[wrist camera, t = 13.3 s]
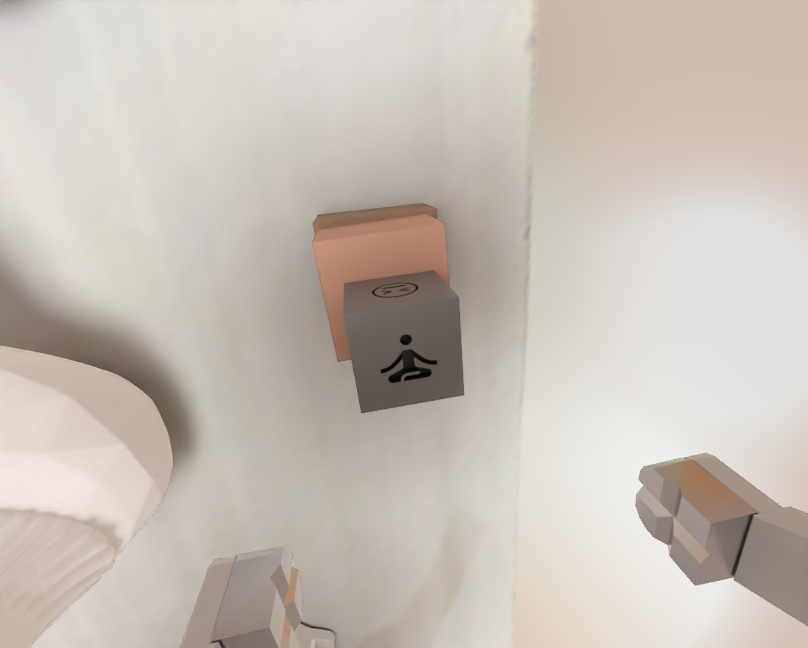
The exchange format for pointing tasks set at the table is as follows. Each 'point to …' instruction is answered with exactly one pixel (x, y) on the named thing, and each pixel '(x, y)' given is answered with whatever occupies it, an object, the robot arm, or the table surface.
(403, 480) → the table surface
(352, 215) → the walnut base block
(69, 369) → the decorative rooster
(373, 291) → the dice cube
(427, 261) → the terracotta top block
